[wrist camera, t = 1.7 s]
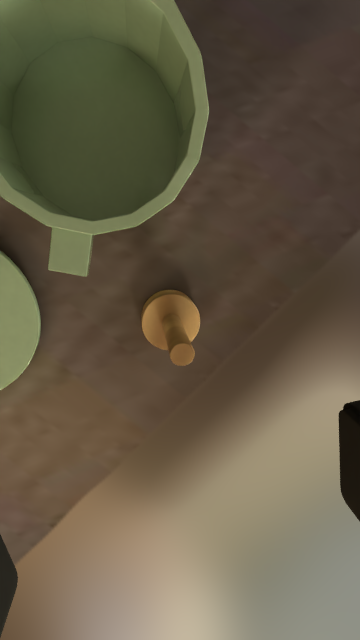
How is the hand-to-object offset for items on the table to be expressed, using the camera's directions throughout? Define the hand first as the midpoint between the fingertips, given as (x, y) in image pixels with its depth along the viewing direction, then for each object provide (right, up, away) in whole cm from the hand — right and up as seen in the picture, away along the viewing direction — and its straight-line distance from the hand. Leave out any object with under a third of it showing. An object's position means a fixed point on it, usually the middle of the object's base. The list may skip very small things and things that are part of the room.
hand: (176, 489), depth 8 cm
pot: (-6, +18, +16) cm, 25 cm away
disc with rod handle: (-1, +5, +21) cm, 22 cm away
